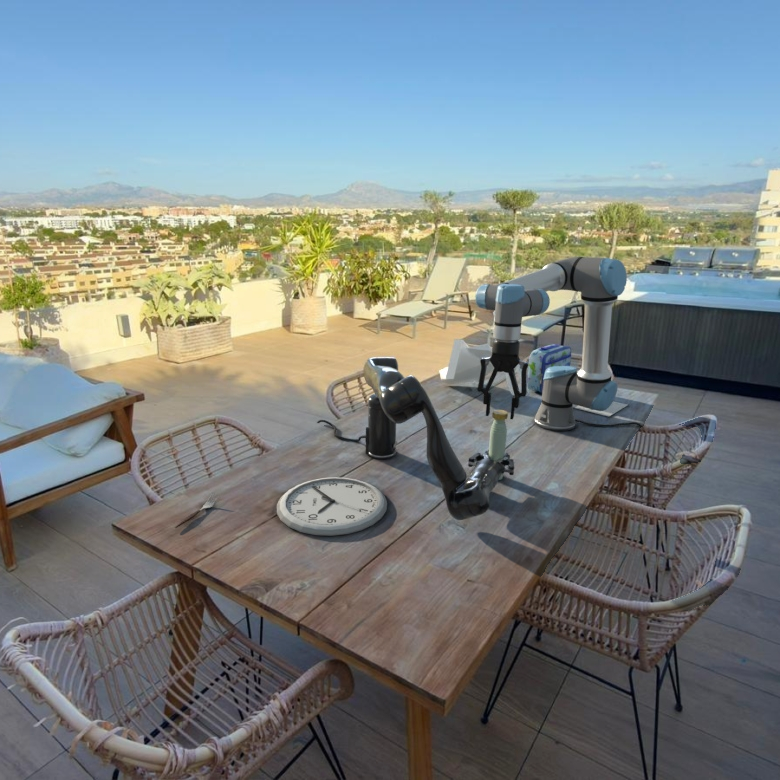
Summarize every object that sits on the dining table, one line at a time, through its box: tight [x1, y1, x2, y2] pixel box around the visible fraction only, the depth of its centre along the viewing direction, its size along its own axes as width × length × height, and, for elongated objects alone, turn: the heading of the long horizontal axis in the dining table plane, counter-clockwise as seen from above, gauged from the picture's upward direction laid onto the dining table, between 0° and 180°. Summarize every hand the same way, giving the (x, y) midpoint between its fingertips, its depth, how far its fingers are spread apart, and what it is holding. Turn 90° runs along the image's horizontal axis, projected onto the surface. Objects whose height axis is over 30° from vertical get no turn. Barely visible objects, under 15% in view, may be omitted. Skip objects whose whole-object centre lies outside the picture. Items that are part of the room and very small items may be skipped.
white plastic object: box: [438, 310, 531, 397], centre depth 245 cm, size 37×45×31 cm
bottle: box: [488, 418, 508, 481], centre depth 158 cm, size 5×5×21 cm
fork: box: [174, 492, 220, 529], centre depth 137 cm, size 3×16×2 cm, turn 160°
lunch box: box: [527, 343, 572, 394], centre depth 247 cm, size 26×11×21 cm, turn 134°
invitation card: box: [573, 400, 629, 418], centre depth 226 cm, size 21×1×15 cm
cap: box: [492, 409, 509, 421], centre depth 155 cm, size 4×4×2 cm
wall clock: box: [276, 476, 388, 537], centre depth 142 cm, size 30×2×30 cm
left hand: (498, 454), depth 161 cm, fingers closed on bottle, 4 cm apart
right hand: (499, 416), depth 155 cm, fingers open, 6 cm apart
